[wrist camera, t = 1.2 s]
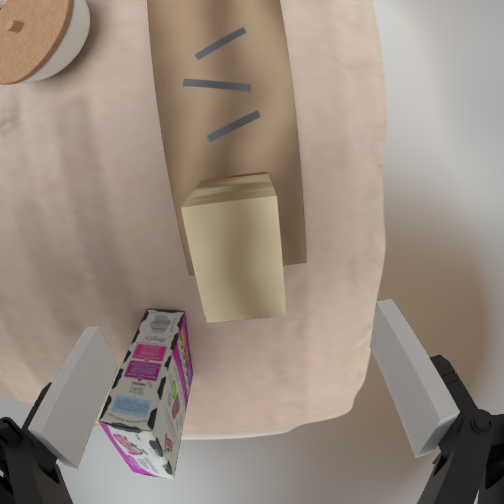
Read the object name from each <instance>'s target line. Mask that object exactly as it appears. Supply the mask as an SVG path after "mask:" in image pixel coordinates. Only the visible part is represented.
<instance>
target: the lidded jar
mask: <svg viewBox="0 0 504 504" xmlns="http://www.w3.org/2000/svg"><path fill="white" fill-rule="evenodd" d="M89 28H90V12H89V8H88V5H87V3H86V1H85V0H7V2H6V3H5V4H4V5H3V7H2V8H1V9H0V84H16V83H29V82H36V81H39V80H43V79H46V78H49V77H51V76H53V75H55V74H56V73H58V72H60V71H61V70H63V69H64V68H65V67H66V66H67V65H69V64H70V63H71V62H72V61H73V60H74V58H75V57H76V56H77V55H78V53H79V52H80V50H81V49H82V47H83V45H84V43H85V41H86V39H87V36H88V33H89Z"/></svg>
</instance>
